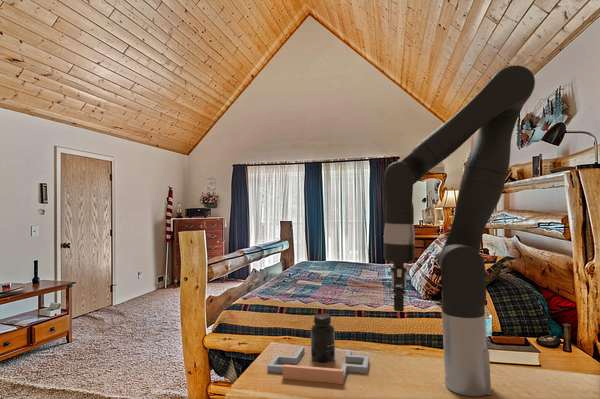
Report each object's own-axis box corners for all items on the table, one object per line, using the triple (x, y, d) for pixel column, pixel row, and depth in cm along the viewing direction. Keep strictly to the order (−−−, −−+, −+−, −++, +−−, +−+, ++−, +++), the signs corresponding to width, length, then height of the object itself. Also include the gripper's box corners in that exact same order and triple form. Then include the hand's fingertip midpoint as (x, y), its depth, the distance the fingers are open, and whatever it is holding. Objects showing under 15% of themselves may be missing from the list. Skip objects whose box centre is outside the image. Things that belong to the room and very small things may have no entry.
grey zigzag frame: (369, 356, 102) (369, 345, 103) (365, 386, 85) (364, 373, 85) (284, 350, 109) (284, 340, 109) (263, 376, 91) (263, 364, 92)
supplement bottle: (334, 364, 98) (333, 319, 98) (310, 363, 99) (308, 319, 100) (335, 354, 105) (334, 313, 105) (312, 353, 106) (311, 312, 106)
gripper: (416, 244, 82) (416, 315, 81) (412, 240, 96) (412, 301, 95) (383, 243, 84) (382, 313, 83) (384, 239, 97) (383, 298, 97)
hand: (398, 306), depth 89 cm, fingers open, 8 cm apart
